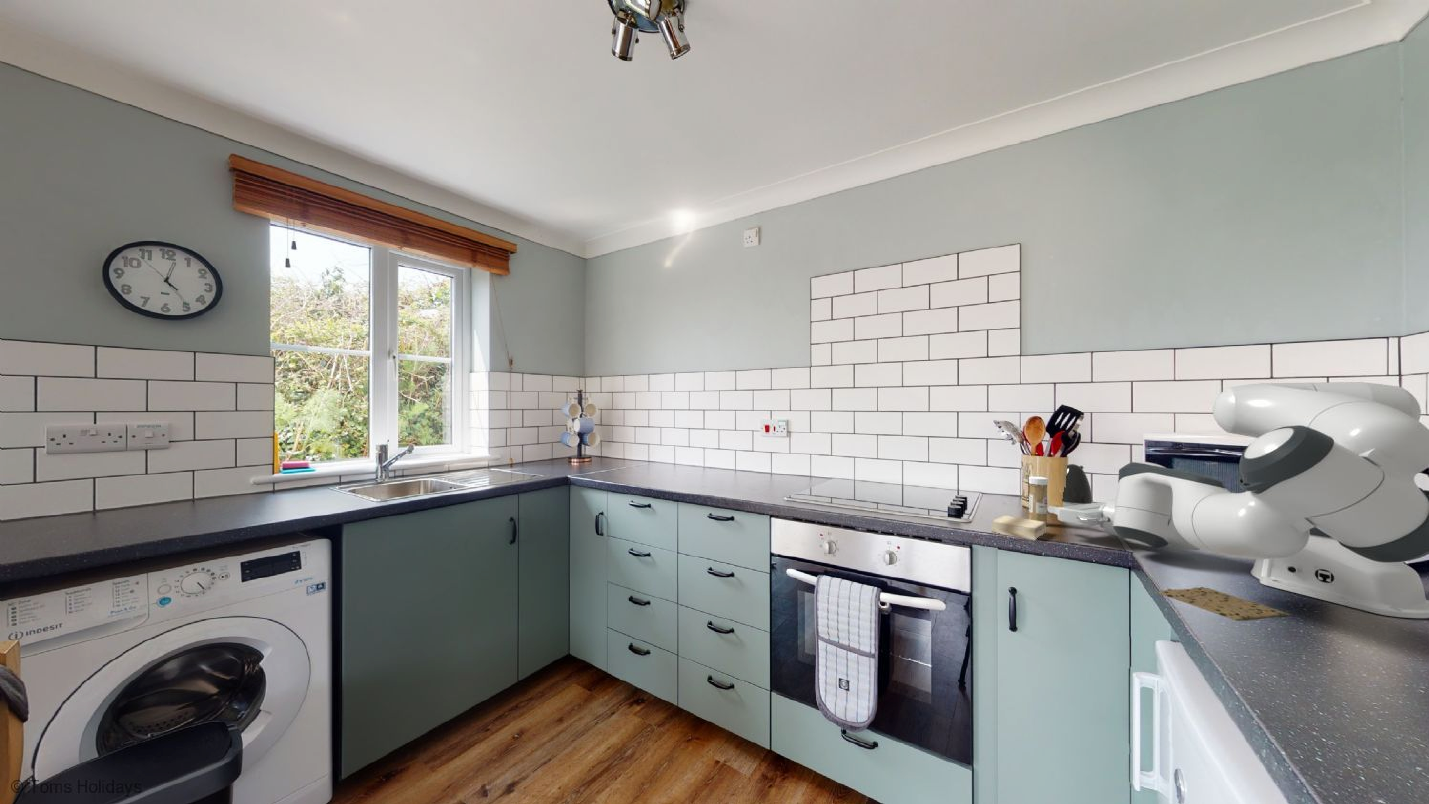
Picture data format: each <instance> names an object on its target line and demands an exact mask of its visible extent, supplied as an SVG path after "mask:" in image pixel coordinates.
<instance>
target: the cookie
mask: <svg viewBox="0 0 1429 804" xmlns="http://www.w3.org/2000/svg"><path fill="white" fill-rule="evenodd" d="M1157 594H1160V595H1163V596H1165V597H1168V598H1172V599H1174V600H1177V601H1179V602H1183V603H1186V604H1188V605H1191V606H1194V607H1197V608H1199V609H1202V610H1206V611H1209V612H1211V613H1213V614H1216V615H1219V616H1221V617H1224V618H1228V619H1230V620H1234V621H1239V622H1240V621H1248V620H1259V619H1267V618H1276V617H1277V618H1279V617H1285V616H1286V617H1287V616H1291V614H1290V613H1288V612H1285V611H1283V610H1279V609H1275V608H1272V607H1270V606H1265V605H1263V604H1260V603H1255V602H1252V601H1249V600H1247V599H1244V598H1241V597H1237V596H1235V595H1231V594H1228V593H1225V592H1222V591H1218V590H1215V589H1212V588H1209V587H1204V586H1200V587H1192V588H1183V589H1176V588H1175V589H1170V588H1167V589H1165V590H1164V589H1163V590H1160V591H1158V592H1157Z"/></svg>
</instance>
